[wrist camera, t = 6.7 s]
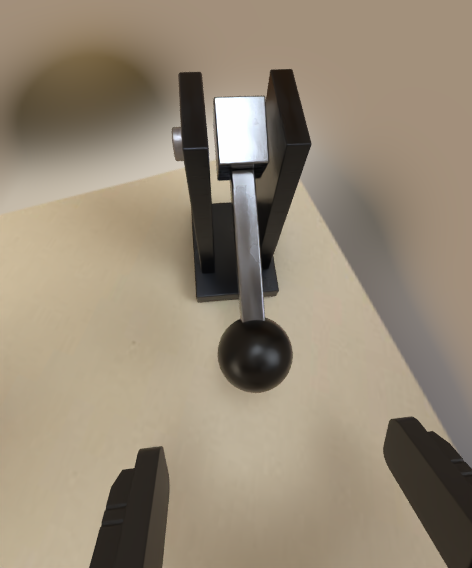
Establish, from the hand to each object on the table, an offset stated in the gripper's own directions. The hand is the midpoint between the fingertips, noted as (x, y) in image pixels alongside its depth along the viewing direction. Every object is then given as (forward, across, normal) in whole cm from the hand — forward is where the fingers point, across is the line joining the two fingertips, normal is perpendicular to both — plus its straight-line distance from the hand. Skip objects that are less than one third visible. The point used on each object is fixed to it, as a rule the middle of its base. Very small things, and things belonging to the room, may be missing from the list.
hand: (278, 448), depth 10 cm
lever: (+8, 0, -5) cm, 9 cm away
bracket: (+16, 0, -2) cm, 16 cm away
